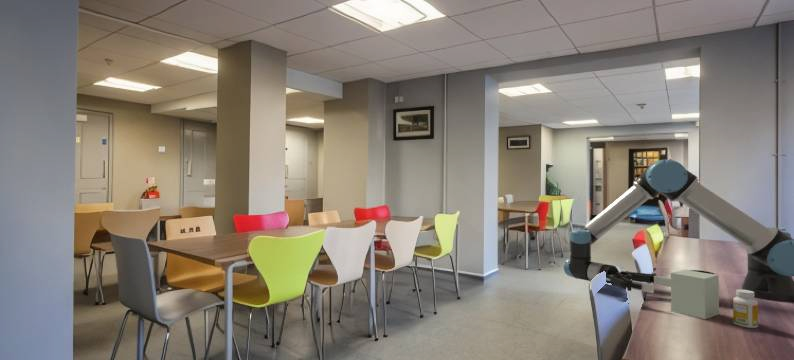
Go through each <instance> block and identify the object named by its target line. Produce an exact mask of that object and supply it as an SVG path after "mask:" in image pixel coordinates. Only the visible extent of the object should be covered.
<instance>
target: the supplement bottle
mask: <svg viewBox="0 0 794 360" xmlns="http://www.w3.org/2000/svg"><path fill="white" fill-rule="evenodd" d="M754 296H755V295H754V292H753V291H749V290H742V288H741V289H735V297H733V298H732V311H733V312H732V315H733V319H732V320H733V321H732V322H733V324H734V325H735V326H738V327H743V328H748V329H749V328H750V329H756V328H758V327H759V302H758V300H756V299H755V297H754Z"/></svg>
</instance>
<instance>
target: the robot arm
mask: <svg viewBox="0 0 794 360" xmlns="http://www.w3.org/2000/svg"><path fill="white" fill-rule="evenodd" d="M659 195H662V196H664V197H665V198H667V199H668V200H670V201H671V202H680V203H682V204H683V205H685V206H686V207H688V208H689V209H691V210H692V211H693V212H695V213H696V214H698V215H699V216H701V217H702V218H703V219H705V220H706V221H708V222H709V223H711V224H712V225H714V226H715V227H717V228H718V229H719V230H722V231H723V232H724V233H726V234H727V235H729V236H730V237H731V238H733V240H736V241H737V242H739V243H741V244H742V245H743V246H744V247H745V251H746V254H747V255H746V256H747V273H746V275H745V277H744V279H743V282H742V285H741V290H749V291H753V292H754V295H755V296H754V298H758V299H764V300H771V301H777V302H778V301H779V302H794V278H793V277H794V238H792V236H791V233H789V232H785V231H781V230H780V229H778V228H777V227H766V226H765V225H763V224H762V223H760V222H758V221H757V220H756V219H754V218H752V217H751V216H749V215H748V214H746V213H745V212H744V211H742V210H741V209H739V208H737V207H735V206H734V205H733V204H731V203H730V202H728V201H727V200H725V199H723V198H721V196H719V195H718V194H716V193H715V192H713V191H711V190H709V189H708V188H707V187H706V186H704V185H702V184H700V183H699V180H698V176H697V175H695V174H694V173H692V172H690V171H689V170H688V169H687V168H685V166H684V165H683V164H681V162H678V161H676V160H673V159H660V160H657V161H654V162H653V163H651V164H649V166H647V167H646V169H644V171H643V172H642V173H641V174H640V175H639V176H638V177H637V178H636V179H635V180H634V181H633V182H632V186H630V188H628V189H627V190H626V191H624V192H623V193H622V194H621V195H619V197H617V198H616V199H615V200H614V201H613V202H611V203H610V204H609V205H608V206H607V207H605V208H604V209H603V210H602V211H600V212H599V213H598V214H597V215H596V216H595V217H593V218H592V219H591V220H590V221H588V222H587V223H586V224H584V226H583V227H581V228H580V229H572V230H570V233H569V234H570V235H569V241H570V242H569V246H570V254H569V255H570V257H569V258H567V259H565V261H564V264H563V271H564V274H566V275H567V276H568V277H571V278H574V279H579V280H583V281H589V282H592V281H591V280H592V279H593V278H594V277H595V276H596V275H597V274H599V273H601V272H603V271H605V272H606V282H607V283H611V284H612V285H613V286H615V287H618V288H621V289H623V290H626V289H627V291H630V292H632V290H636V291H641V292H645V293H650V294H654V292H655V291H654V290H655V285H659V286H665V287H668V288H669V287H670V288H671V277H669V278H668V277H665V276H659V275H658V274H657V273H655V272H653V273H644V272H634V271H629V270H626V271H622V270H621V271H619V269H618V268H617V267H616V266H615V265H612V264H607V263H606V264H605V263H601V262H596V261H592V245H593V244H595V243H596V242H597V241H598V240H599V239H600V238H601V237H603V236H604V235H605V234H607V233H608V232H609V231H611V230H612V229H613V228H614V227H615V226H617V225H618V224H620V222H622V221H623V220H624V219H625V218H627V217H628V216H629V215H630V214H632V213H633V212H634V211H635V210H636V209H638V208H639V207H640V206H641V205H643V204H644V203H646V202H647V201H648V200H653V199H655V198H657V196H659ZM652 283H653V284H652ZM613 286H612V287H613Z"/></svg>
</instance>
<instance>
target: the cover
mask: <svg viewBox="0 0 794 360" xmlns="http://www.w3.org/2000/svg"><path fill="white" fill-rule="evenodd" d="M690 270H691V269H681V270H677V271H674V272H670V279H671V287H670V312H674V313H679V314H681V315H685V316H690V317H694V318H698V319H702V320H708V319H710V318H712V317H715V316H718V315H720V294H719V293H720V292H719V291H720V290H719V289H720V287H719V286H720V285H719V284H720V283H719V274H715V273H714V274H709V273H702V272H696V271H690Z"/></svg>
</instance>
